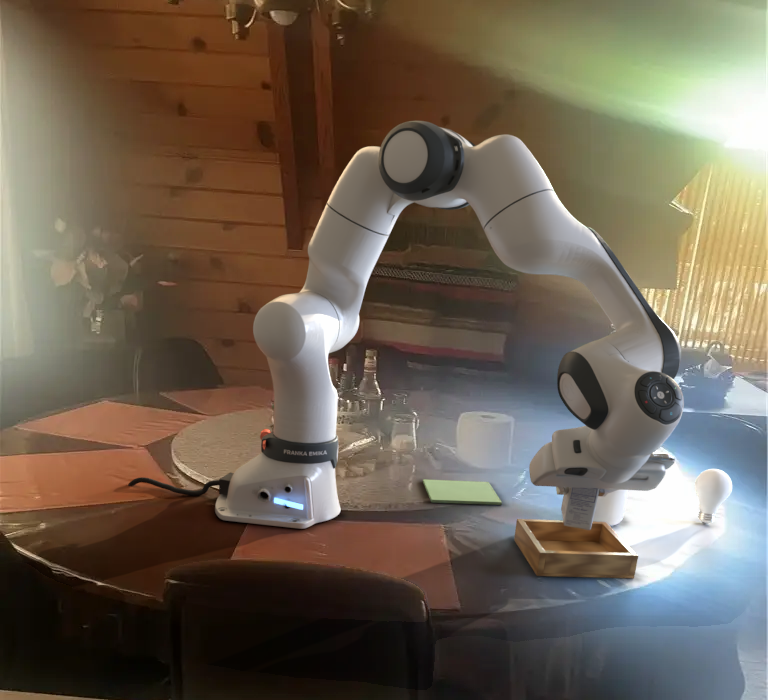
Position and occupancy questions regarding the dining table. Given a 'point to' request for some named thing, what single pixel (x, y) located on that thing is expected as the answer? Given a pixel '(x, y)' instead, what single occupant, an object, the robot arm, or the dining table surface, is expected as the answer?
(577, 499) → the medicine box
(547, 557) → the tray
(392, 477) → the dining table surface
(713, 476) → the light bulb
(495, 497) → the mat
